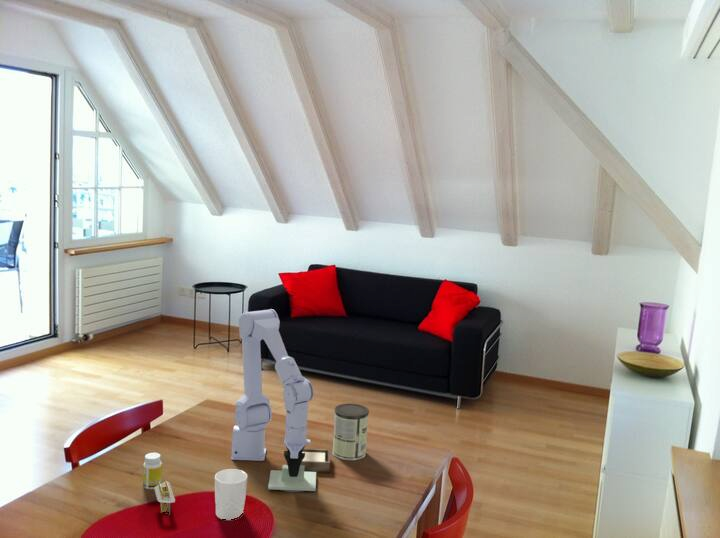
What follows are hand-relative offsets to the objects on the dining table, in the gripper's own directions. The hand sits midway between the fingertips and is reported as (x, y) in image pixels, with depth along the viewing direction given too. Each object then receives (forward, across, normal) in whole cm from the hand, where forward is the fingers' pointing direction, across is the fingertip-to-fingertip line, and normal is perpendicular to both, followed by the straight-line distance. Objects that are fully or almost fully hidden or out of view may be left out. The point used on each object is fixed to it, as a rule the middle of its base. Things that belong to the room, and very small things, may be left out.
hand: (293, 472), depth 193 cm
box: (+3, +12, -4) cm, 13 cm away
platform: (+4, -16, +31) cm, 35 cm away
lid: (+3, 0, 0) cm, 3 cm away
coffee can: (+4, +21, -16) cm, 27 cm away
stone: (+3, 0, 0) cm, 3 cm away
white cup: (+4, -17, +15) cm, 23 cm away
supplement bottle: (+4, -4, +37) cm, 37 cm away
